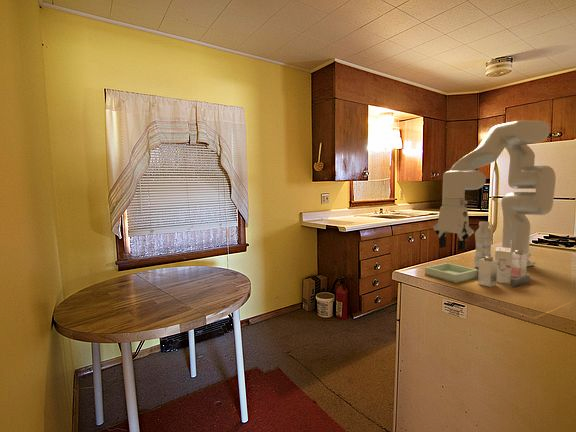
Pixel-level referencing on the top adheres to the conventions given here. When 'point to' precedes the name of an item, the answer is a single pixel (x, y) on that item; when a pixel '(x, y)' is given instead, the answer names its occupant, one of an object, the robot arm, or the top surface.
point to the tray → (451, 272)
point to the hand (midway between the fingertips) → (451, 248)
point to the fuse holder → (489, 270)
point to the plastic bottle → (482, 242)
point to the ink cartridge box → (504, 264)
